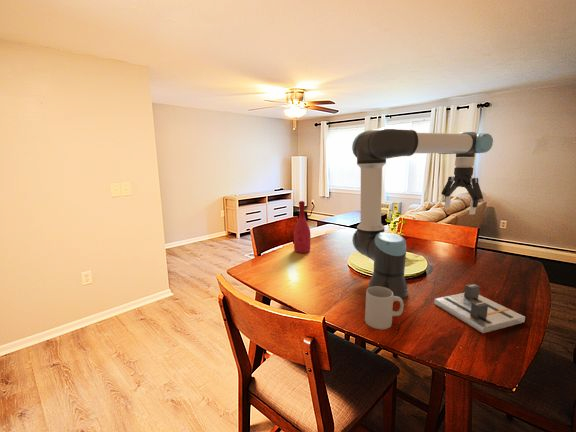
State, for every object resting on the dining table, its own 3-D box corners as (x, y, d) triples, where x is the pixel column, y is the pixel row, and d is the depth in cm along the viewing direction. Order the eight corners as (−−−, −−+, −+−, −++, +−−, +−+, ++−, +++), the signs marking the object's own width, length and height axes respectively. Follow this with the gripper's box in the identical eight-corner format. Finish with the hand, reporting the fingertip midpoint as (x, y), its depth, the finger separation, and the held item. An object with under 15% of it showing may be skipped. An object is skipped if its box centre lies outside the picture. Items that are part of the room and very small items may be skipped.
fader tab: (470, 299, 102) (471, 287, 101) (464, 296, 104) (465, 284, 104) (478, 297, 103) (479, 286, 102) (472, 294, 106) (473, 283, 105)
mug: (367, 329, 89) (368, 297, 87) (362, 314, 97) (364, 285, 95) (406, 330, 88) (408, 298, 86) (398, 315, 96) (400, 286, 94)
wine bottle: (291, 249, 169) (290, 200, 163) (306, 247, 172) (306, 199, 166) (297, 254, 160) (296, 202, 154) (313, 252, 163) (313, 201, 156)
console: (482, 333, 86) (485, 313, 85) (434, 303, 104) (435, 286, 102) (524, 322, 91) (527, 303, 90) (471, 295, 109) (473, 279, 107)
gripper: (496, 167, 119) (490, 215, 123) (447, 166, 142) (443, 207, 146) (483, 167, 117) (477, 217, 121) (436, 166, 140) (432, 208, 144)
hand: (459, 211), depth 134 cm, fingers open, 13 cm apart
